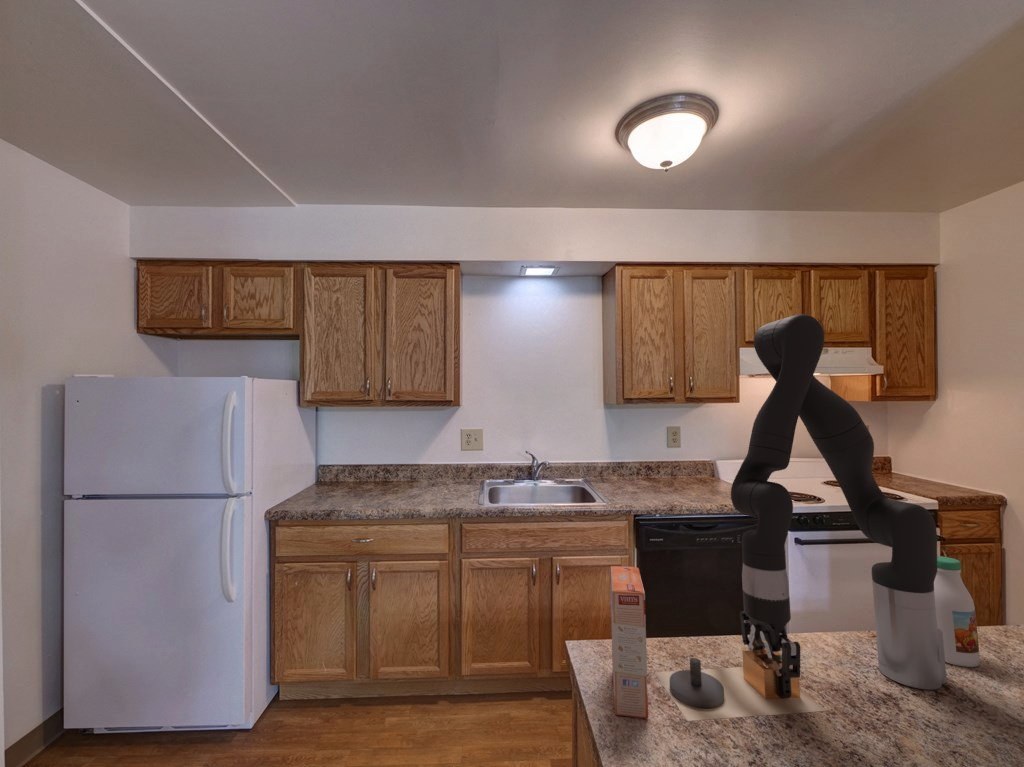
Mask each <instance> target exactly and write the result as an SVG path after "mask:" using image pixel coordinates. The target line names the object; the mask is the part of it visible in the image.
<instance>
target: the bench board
mask: <svg viewBox="0 0 1024 767" xmlns="http://www.w3.org/2000/svg"><path fill="white" fill-rule="evenodd" d="M764 662H765V663H766V664H773V662H772V661H771V660H770V659H765V660H764ZM701 666H702V665H701V660H700V659H699V658H696V657H691V658H689V669H682V670H673V671H671V670H670V671H658V672H657V671H656V672H653V674H654V675H655V677H656V678H657V679H658V681H659V683H661V685H662V686H663V687H664V689H665V691H666V692H667V694H668V695H669V696H670V698H671V699H672V701H673V702H674V703H675V705H676V707H677V708H678V709H679V711H680V712H681V714H682V715H683V716H684V718H685V720H686V721H687V722H695V721H696V722H697V721H706V720H707V721H711V720H721V719H734V718H736V719H737V718H747V717H748V718H749V717H763V716H764V717H765V716H776V715H777V716H779V715H788V714H789V715H790V714H802V713H803V714H804V713H815V712H819V713H820V712H827V711H828V710H827V709H826V708H824V707H823V706H822V705H821V704H819V703H818V701H817V700H815V699H814V698H812V697H811V696H810V695H809V694H808V693H806V691H804V690H803V689H802V688H800V697H798V698H784V699H770V700H765V699H764V698H763V697H762V696H761V695H760V694H759V693H758V692H757V691H756V690H755V689H754V688H753V687H752V686H751V685H750V684H749V683H748V682H747V681H746V680H745V679H744V673H743V666H737V667H721V668H720V667H719V668H704V669H702V668H701Z"/></svg>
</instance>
